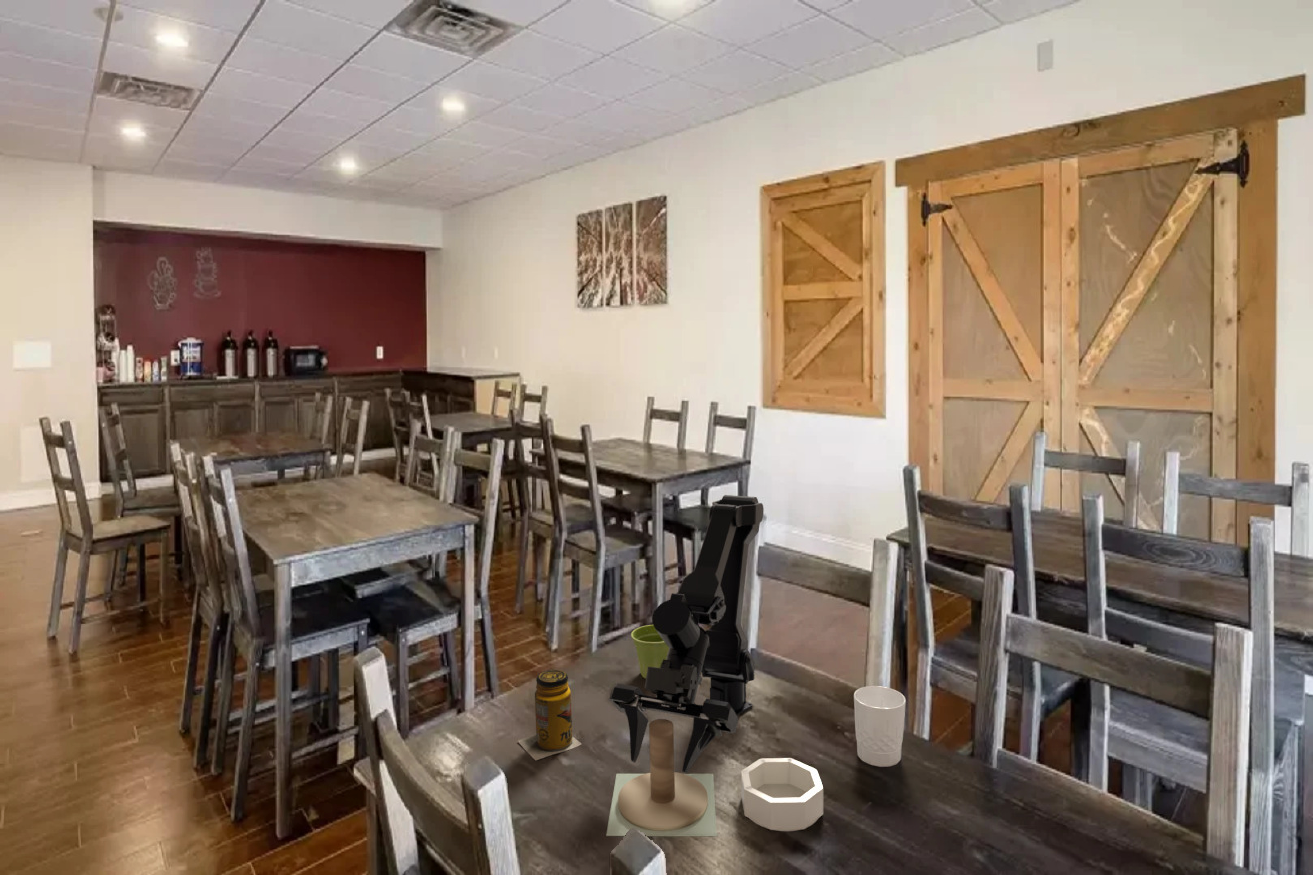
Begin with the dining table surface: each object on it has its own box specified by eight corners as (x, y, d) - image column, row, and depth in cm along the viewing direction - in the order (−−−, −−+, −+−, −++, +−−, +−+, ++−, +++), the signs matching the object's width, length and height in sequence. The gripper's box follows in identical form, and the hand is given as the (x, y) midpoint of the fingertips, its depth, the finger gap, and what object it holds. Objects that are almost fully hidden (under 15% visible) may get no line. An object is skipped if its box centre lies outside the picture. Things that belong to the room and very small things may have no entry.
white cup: (907, 748, 125) (908, 690, 124) (900, 774, 118) (902, 712, 117) (858, 739, 129) (858, 682, 127) (849, 763, 122) (849, 703, 120)
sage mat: (616, 775, 120) (616, 773, 120) (713, 775, 119) (713, 773, 119) (606, 837, 105) (606, 835, 105) (716, 838, 104) (716, 836, 104)
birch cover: (663, 767, 121) (661, 695, 119) (726, 801, 112) (725, 723, 110) (599, 803, 112) (597, 726, 110) (663, 844, 103) (661, 759, 101)
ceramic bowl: (773, 777, 118) (773, 750, 118) (835, 807, 110) (836, 778, 110) (726, 809, 110) (726, 780, 110) (790, 844, 103) (790, 812, 102)
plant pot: (664, 688, 149) (663, 645, 148) (623, 678, 154) (622, 637, 153) (687, 670, 157) (686, 629, 156) (647, 661, 162) (646, 621, 161)
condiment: (582, 745, 129) (579, 677, 127) (535, 761, 124) (532, 691, 123) (562, 727, 135) (559, 662, 133) (517, 742, 130) (514, 675, 129)
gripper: (612, 632, 116) (580, 737, 108) (730, 649, 109) (706, 762, 100) (635, 662, 124) (607, 761, 116) (747, 679, 117) (725, 786, 108)
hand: (658, 767), depth 110 cm, fingers open, 8 cm apart
